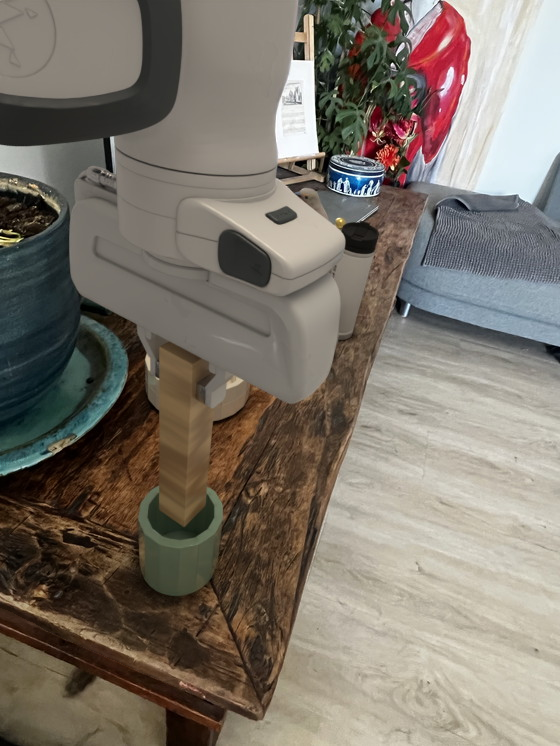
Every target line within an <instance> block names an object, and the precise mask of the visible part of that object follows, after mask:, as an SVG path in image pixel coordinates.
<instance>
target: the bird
mask: <svg viewBox="0 0 560 746" xmlns="http://www.w3.org/2000/svg"><path fill="white" fill-rule="evenodd" d="M293 193H294V194H295V195H297V196H298V197H299V198H300V199H301V200H303V201H304V202H305V203H306V204H307V205H309V206H310V207H311V208H313V209H314V210H315V211H316V212H318V213H319V214H320V215H322V216H323V217H324V218H325V219H327V220H328V221H329V222H331V221H330V218H329V216H328V214H327V212H326V210H325V208H324V206H323V204H322V201H321V198H320V196H319V194H318V192H317V191H316V190H315V189H313V188H311V187H309V188H308V187H303V188H301V190H299V191H297V192H293Z"/></svg>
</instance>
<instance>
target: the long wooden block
mask: <svg viewBox="0 0 560 746" xmlns="http://www.w3.org/2000/svg"><path fill="white" fill-rule="evenodd" d="M210 373H211V372H210V371H209V362H208V361H206V360H204V359H202V358H200V357H198V356H196V355H194V354H192V353H191V352H189V351H187V350H185V349H183V348H181V347H179V346H177V345H175V344H173V343H171V342H170V341H169V342H167V343H165V344H163V345H162V346H160V347H159V410H158V417H159V418H158V422H159V423H158V437H159V438H158V454H159V455H158V466H159V467H158V483H159V484H158V486H159V510H160V511H161V512H163V513H164V514H166V515H167V516H169V517H170V518H171V519H173V520H174V521H176V522H177V523H179V524H180V525H182V526H183V527H185V526H186V525H187V524H188V523H189V522H190V521H191V520H192V519H193V518H194V517H195V516H196V515H197V514H198V513H199V512H200V511H201V510H202V509H203V508H204V507H205V505H206V494H207V486H208V481H209V471H210V461H211V460H210V459H211V448H212V435H213V427H214V426H213V424H214V421H213V415H214V408H210V407H208V406H206V405H204V404H203V403H201V402H199V401H198V400H196V394H197V393H196V383H197V382H199V381H200V380H202V379H204V378H206V376H207V375H209V374H210ZM215 374H216V373H215Z"/></svg>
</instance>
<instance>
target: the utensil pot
mask: <svg viewBox="0 0 560 746" xmlns="http://www.w3.org/2000/svg"><path fill="white" fill-rule="evenodd" d="M223 521H224V505H223V502H222V501H221V499H220V497H219V495H218V494H217V492H216V491H215V490H214V489H212V488H211V487H209V486H208V485H207V494H206V505H205V507H204V508H203V509H202V510H201V511H200V512H199V513H198V514H197V515H196V516H195V517H194V518H193V519H192V520H191V521H190V522H189V523H188V524H187V525H186V526H185V527H183V526H182V525H180V524H179V523H177V522H176V521H174V520H173V519H171V518H170V517H169V516H167V515H166V514H164V513H163V512H161V511H160V510H159V485H157V486H155V487H153V488H151V489H150V490H149V491H148V493H147V494H146V495H145V496H144V498H143V499H142V500H141V502H140V504H139V509H138V517H137V526H138V527H137V529H138V556H139V557H138V558H139V566H140V571H141V572H140V573H141V575H142V577H143V579H144V581H145V582H146V584H147V585H148V586H149V587H150V588H152V590H154V591H156V592H158V593H159V594H162V595H165V596H170V597H181V596H182V597H183V596H187V595H191V594H193V593H196V592H198V591H199V590H200V589H202V588H203V587H204V586H206V585H207V584H208V583H209V581H210V580H211V579H212V577H213V576H214V574H215V572H216V568H217V565H218V561H219V553H220V546H221V537H222V531H223V530H222V529H223V523H224V522H223Z"/></svg>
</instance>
